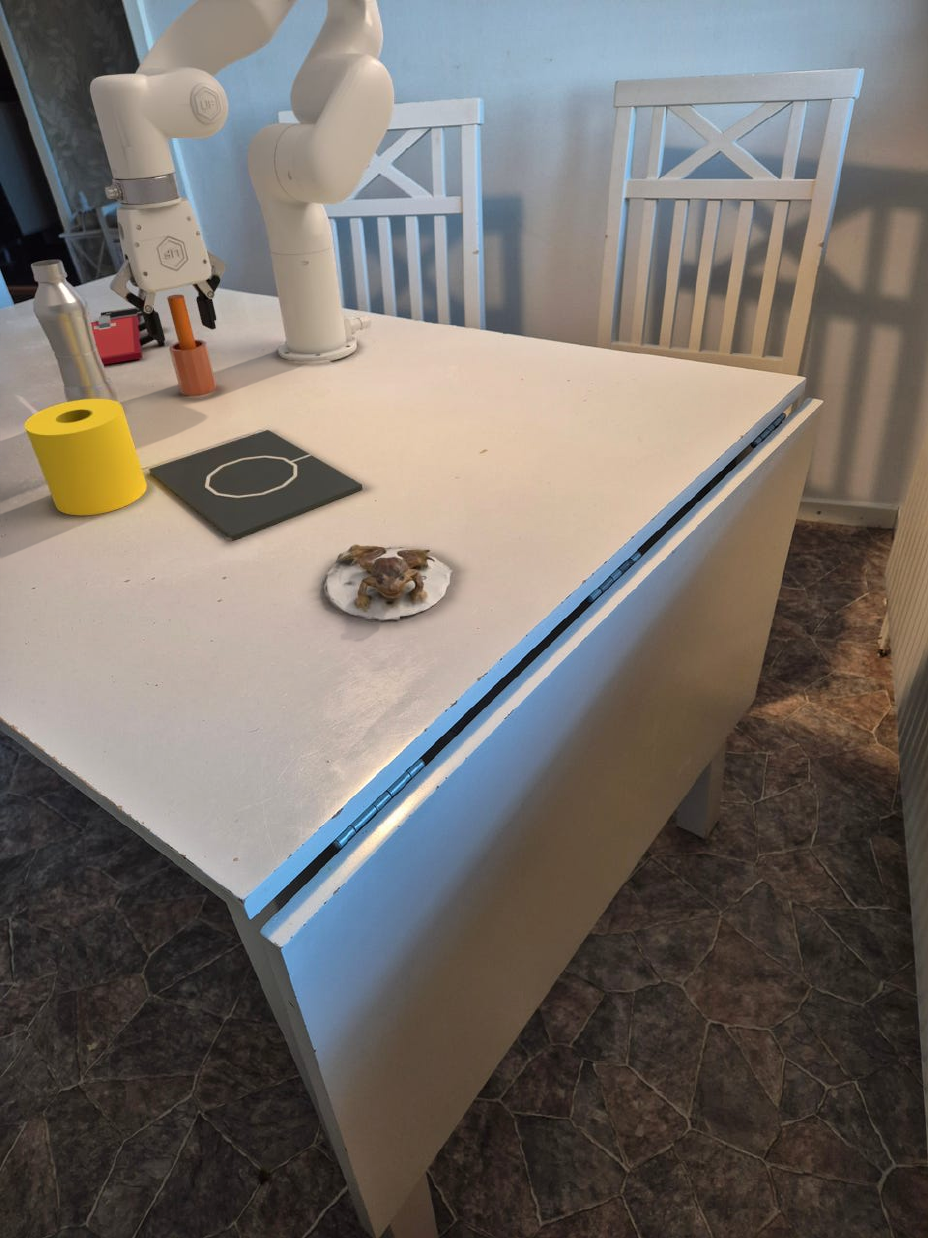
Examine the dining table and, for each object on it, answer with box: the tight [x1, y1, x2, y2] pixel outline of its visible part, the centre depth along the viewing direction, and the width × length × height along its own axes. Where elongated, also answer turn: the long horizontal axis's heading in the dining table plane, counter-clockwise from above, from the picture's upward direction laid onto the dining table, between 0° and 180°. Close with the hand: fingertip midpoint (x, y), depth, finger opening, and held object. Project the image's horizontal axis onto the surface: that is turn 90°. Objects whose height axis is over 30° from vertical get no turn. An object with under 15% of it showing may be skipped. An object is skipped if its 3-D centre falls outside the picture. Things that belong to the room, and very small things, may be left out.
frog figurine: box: [323, 543, 453, 622], centre depth 74 cm, size 12×12×4 cm
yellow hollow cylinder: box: [24, 399, 148, 517], centre depth 90 cm, size 10×10×9 cm
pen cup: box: [168, 339, 217, 397], centre depth 116 cm, size 5×5×7 cm
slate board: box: [148, 429, 364, 541], centre depth 94 cm, size 16×22×1 cm
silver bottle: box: [30, 259, 119, 403], centre depth 107 cm, size 6×7×20 cm
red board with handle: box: [91, 306, 166, 366], centre depth 142 cm, size 30×3×15 cm
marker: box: [166, 294, 196, 350], centre depth 114 cm, size 2×2×13 cm
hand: (184, 332), depth 113 cm, fingers open, 6 cm apart
